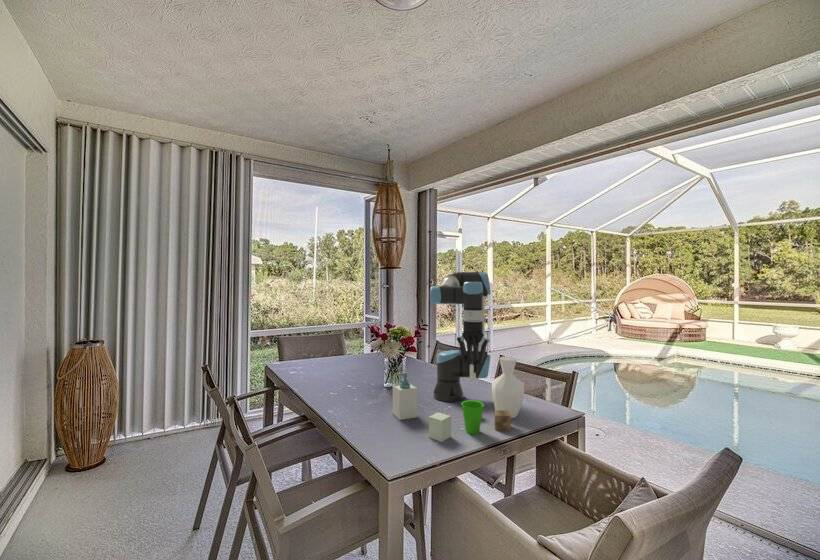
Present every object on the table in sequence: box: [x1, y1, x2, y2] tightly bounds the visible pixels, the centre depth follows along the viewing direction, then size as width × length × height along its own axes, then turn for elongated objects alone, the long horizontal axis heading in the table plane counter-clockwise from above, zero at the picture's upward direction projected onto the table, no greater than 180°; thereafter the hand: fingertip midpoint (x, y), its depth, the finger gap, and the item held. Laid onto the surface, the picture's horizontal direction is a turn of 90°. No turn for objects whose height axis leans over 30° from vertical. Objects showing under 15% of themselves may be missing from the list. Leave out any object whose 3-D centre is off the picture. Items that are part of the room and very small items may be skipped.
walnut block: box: [494, 409, 512, 432], centre depth 149 cm, size 6×6×6 cm
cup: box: [460, 399, 485, 435], centre depth 145 cm, size 9×9×11 cm
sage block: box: [428, 412, 452, 443], centre depth 140 cm, size 6×6×8 cm
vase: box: [491, 356, 525, 419], centre depth 163 cm, size 14×14×25 cm
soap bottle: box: [392, 371, 419, 421], centre depth 162 cm, size 9×9×19 cm
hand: (472, 380), depth 145 cm, fingers closed
